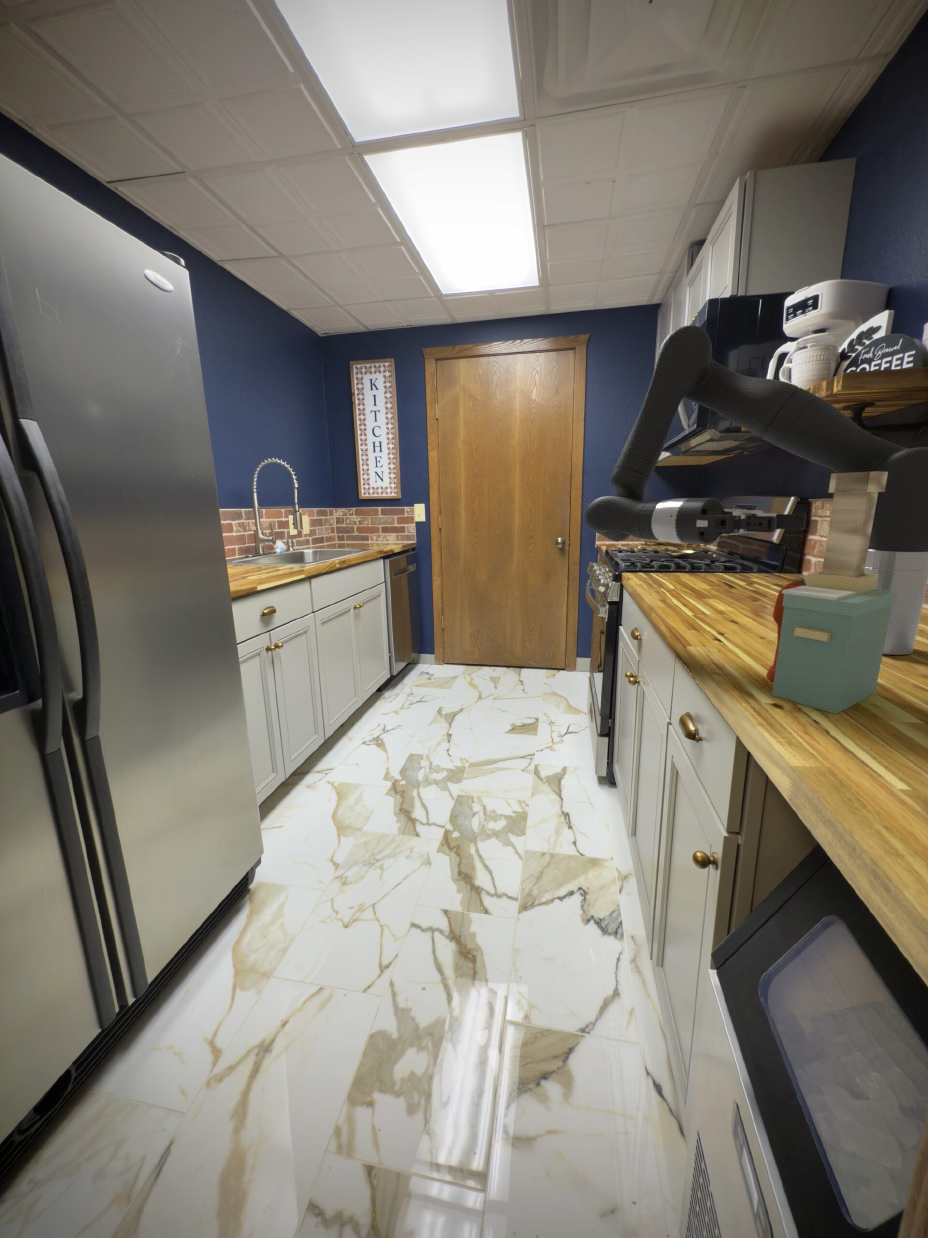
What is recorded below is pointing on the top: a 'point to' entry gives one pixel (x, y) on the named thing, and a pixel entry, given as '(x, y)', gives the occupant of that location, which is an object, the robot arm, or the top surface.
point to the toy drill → (778, 619)
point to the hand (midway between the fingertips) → (790, 523)
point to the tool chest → (832, 641)
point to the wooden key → (851, 521)
